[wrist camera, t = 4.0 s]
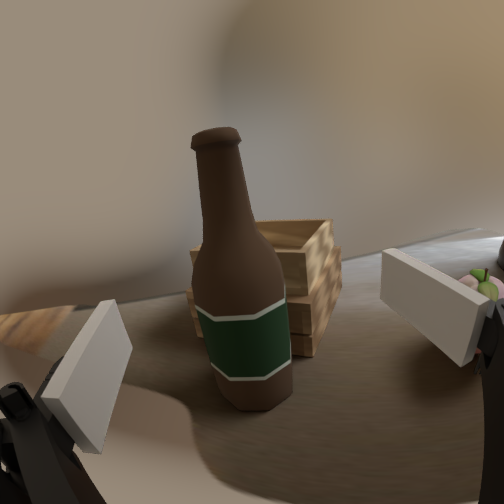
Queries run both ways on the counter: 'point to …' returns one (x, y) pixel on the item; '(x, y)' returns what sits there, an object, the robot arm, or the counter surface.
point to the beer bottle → (238, 283)
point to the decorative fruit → (484, 286)
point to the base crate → (304, 308)
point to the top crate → (297, 250)
